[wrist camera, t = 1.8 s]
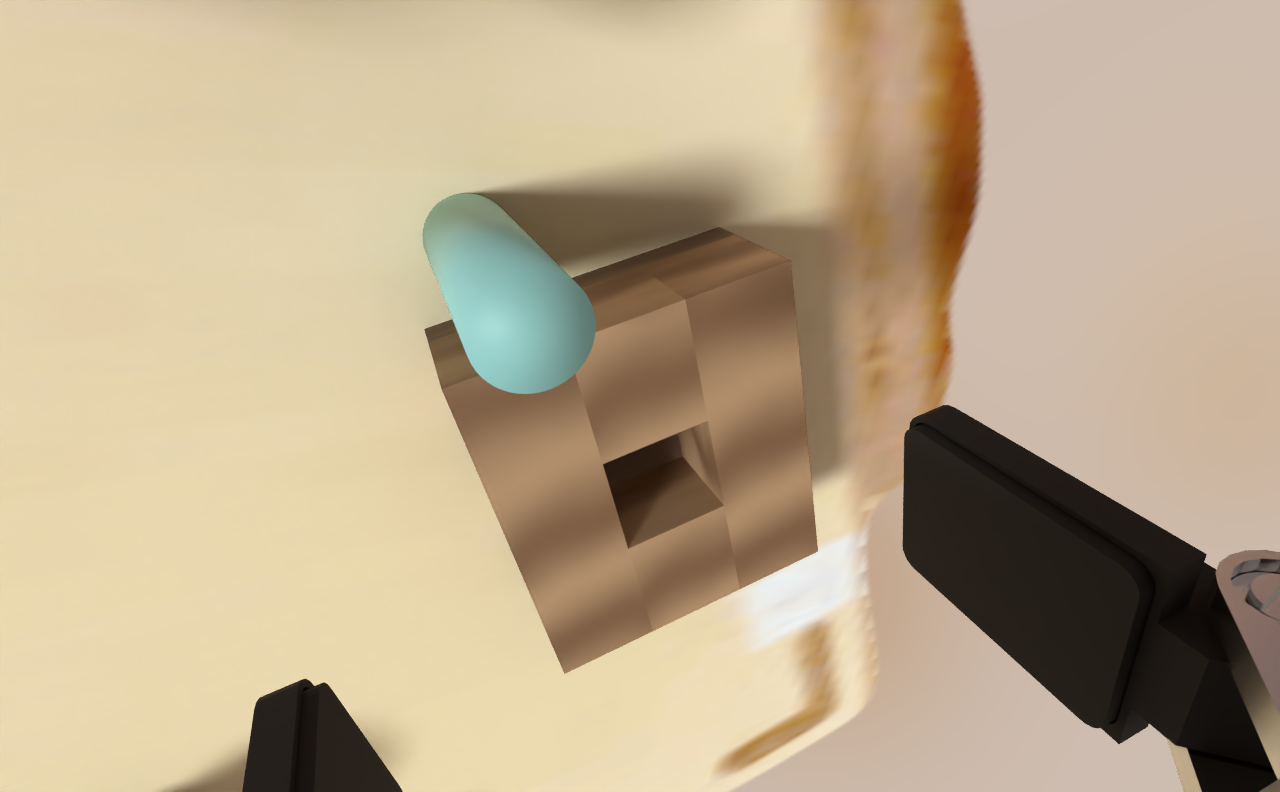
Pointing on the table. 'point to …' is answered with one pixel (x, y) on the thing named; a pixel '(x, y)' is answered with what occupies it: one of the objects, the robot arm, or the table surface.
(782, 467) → the block
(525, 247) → the pin
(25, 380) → the table surface
